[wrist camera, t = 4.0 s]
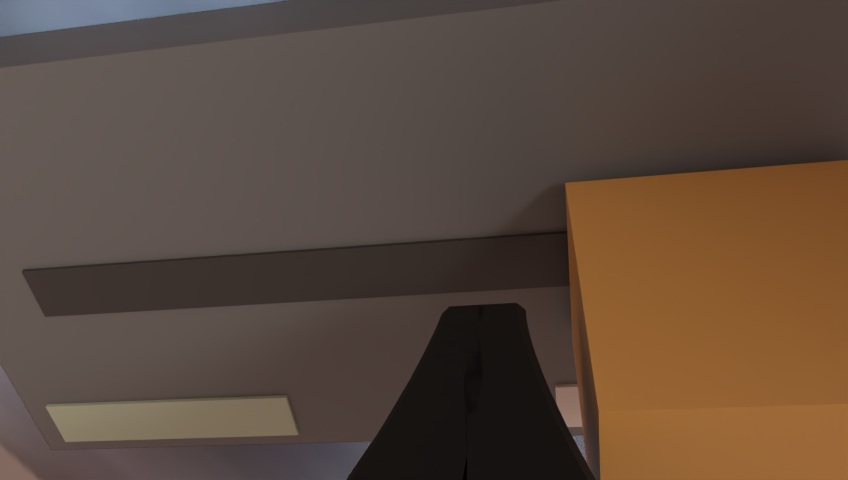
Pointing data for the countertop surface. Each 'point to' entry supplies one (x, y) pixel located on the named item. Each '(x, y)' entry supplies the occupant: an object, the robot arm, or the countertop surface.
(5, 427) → the countertop surface
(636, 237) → the knob
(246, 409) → the switch panel
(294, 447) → the countertop surface
